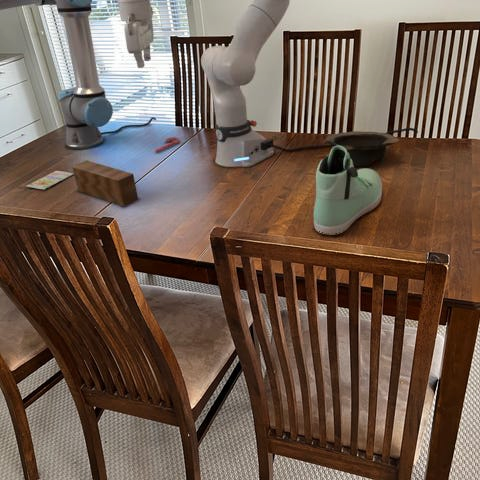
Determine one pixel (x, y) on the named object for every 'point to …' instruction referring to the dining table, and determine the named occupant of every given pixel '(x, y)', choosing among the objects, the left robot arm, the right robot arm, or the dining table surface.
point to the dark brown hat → (363, 145)
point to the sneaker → (343, 192)
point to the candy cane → (174, 139)
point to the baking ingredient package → (50, 180)
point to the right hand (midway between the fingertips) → (144, 63)
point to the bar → (105, 183)
